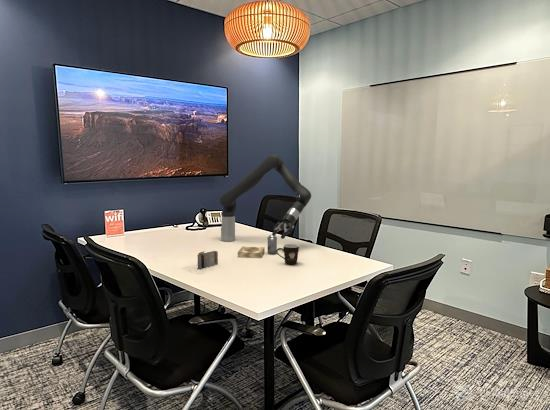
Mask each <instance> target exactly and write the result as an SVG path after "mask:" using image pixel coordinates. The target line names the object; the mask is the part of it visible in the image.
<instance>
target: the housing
mask: <svg viewBox="0 0 550 410" xmlns="http://www.w3.org/2000/svg"><path fill="white" fill-rule="evenodd" d="M277 245H278V237H277V236H276V235H272V234H270V235H268V236H267V255H272V256H273V255H278V254H277V252H278V251H277V249H278V246H277Z"/></svg>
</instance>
